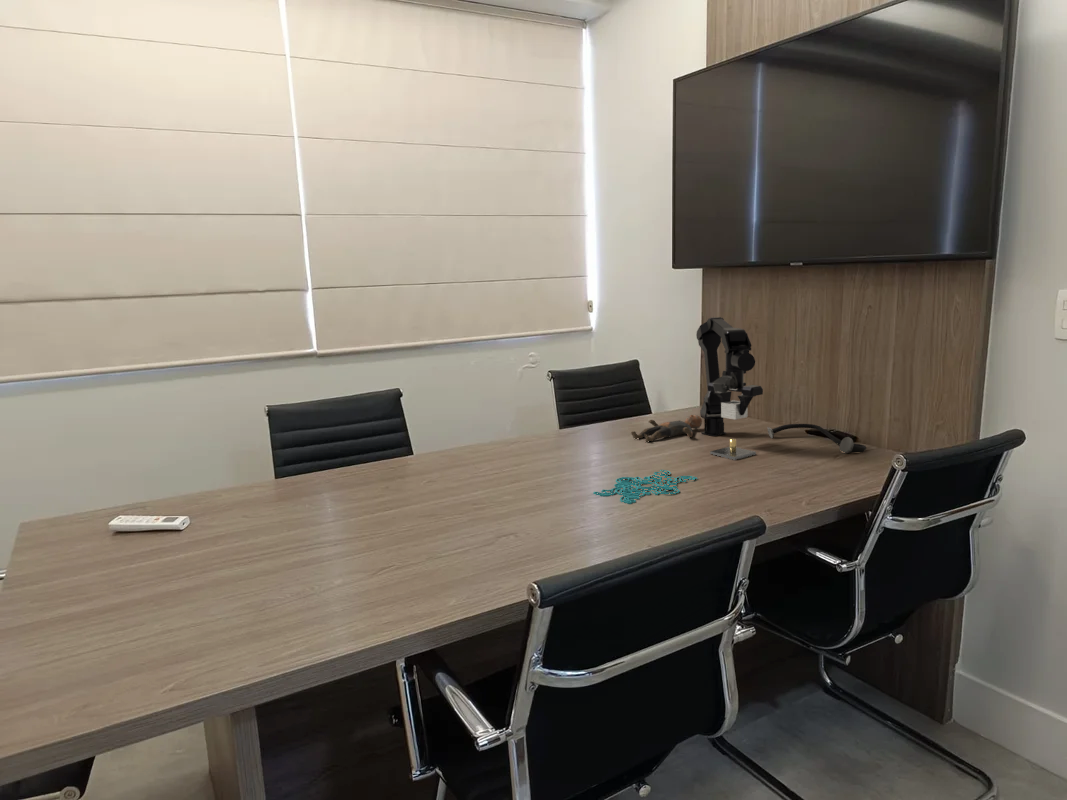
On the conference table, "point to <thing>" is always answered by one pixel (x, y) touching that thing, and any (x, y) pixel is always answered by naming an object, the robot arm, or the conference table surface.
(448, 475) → the conference table surface
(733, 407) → the grey hollow square block
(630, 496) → the decorative art
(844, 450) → the hose
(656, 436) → the figurine
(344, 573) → the conference table surface
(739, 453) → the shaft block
